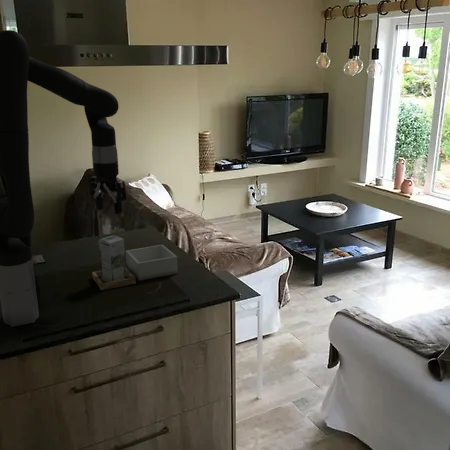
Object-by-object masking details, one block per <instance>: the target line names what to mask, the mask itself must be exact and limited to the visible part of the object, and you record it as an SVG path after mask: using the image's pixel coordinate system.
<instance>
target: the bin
mask: <svg viewBox="0 0 450 450" xmlns="http://www.w3.org/2000/svg"><path fill="white" fill-rule="evenodd" d="M125 267H126V268H127V269H128V270H129V271H130V272H131V273H132V274H133V276H134V277H135V278H136V280H137V281H144V280H149V279H154V278H160V277H161V278H162V277H165V276H170V275H176V274H177V275H178V272H179V271H178V270H179V269H178V256H177V255H176V254H175V253H173V252H172V251H171V250H170V249H168V247H167V246H165V245H164V244H158V245H157V244H156V245H152V246H151V245H150V246H147V247H141V248H133V249H132V248H131V249H126V250H125Z"/></svg>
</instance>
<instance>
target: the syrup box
mask: <svg viewBox="0 0 450 450" xmlns="http://www.w3.org/2000/svg"><path fill="white" fill-rule="evenodd" d="M98 248H99V250H98V251H99V264H100V266H99V267H100V271H101V277H100V280H101V281H102V283H105V282H110V281H116V280H121V279H127V278H126V277H127V276H126V275H125V267H126V252H125V239H124V238H122V237H120V236H118V235H109V236H106V237H103V238H100V239H98Z"/></svg>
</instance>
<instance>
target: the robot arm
mask: <svg viewBox="0 0 450 450" xmlns="http://www.w3.org/2000/svg"><path fill="white" fill-rule="evenodd" d="M29 49H30V48H29V45H28V43H27V40H26V38H25V37H24V36H23V35H22V34H21V33H19V32H17V31H16V30H11V29H8V30H7V29H6V30H0V173H1V175H2V178H3V179H4V183H5V187H6V190H7V191H6V192H7V201H6V200H0V306H1V311H2V320H3V323H4V324H5V325H9V326H10V327H11V328H13V327H18V326H23V325H24V326H25V325H29V324H32V323H35V322H36V320H37V319H39V317H40V313H39V303H38V297H37V290H36V289H37V287H36V279H35V272H34V263H33V255H32V253H33V252H32V249H31V248H30V247H29V245H27V244H26V243H24V242H23V241H22V240H21V239H25V238H27V237H28V236H30V234H31V233H32V232H33V231H32V230H33V229H34V225H35V209H34V202H33V194H32V189H31V188H32V187H31V176H30V175H31V174H30V158H29V157H30V155H29V153H30V152H29V151H30V148H29V147H30V146H29V145H30V143H29V124H28V123H29V122H28V121H29V120H28V119H29V117H28V115H29V113H28V112H29V111H28V84H29V83H28V82H30V83H33V84H35V85H36V86H37V87H41V88H43V89H44V90H47V91H49V92H51V93H53V94H54V95H56V96H58V97H60V98H62V99H63V100H66V101H68V102H69V103H71V104H74V105H77V106H81V107H83V108H84V114H85V116H86V120H87V124H88V127H89V130H90V133H91V135H90V136H91V145H92V146H91V158H92V171H93V176H89V178H88V180H89V195H90V196H93V198H94V199H95V200H94V201H95V208H96V210H97V211H99V210H103V209H104V199H103V195H104V194H108V196H109V197H110V198H111V199H112V201H113V213H114V214H115V215H120V214H122V212H123V208H122V205H123V204H122V202H124V201H126V200H127V191H126V182H125V180H121V181H118V178H117V176H119V173H120V172H119V157H118V149H117V141H116V140H117V139H116V138H117V137H116V130H115V127H114V126H112V124H110V123H109V122H108V120H107V118H110V117H114V116H115V115H116V114H117V113H118V111H119V109H120V108H119V105H120V104H119V100H118V99H117V97H116V96H114V94H112V93H111V92H110V91H108V90H105V89H103V88H100V87H99V86H96V85H93V84H90V83H89V82H86V81H85V80H83V79H82V78H80V77H78V76H77V75H74V74H73V73H71V72H69V71H67V70H64V69H63V68H60V67H57V66H55V65H51V64H49V63H46V62H43V61H41V60H39V59H37V58H34V57H32V56H30V50H29Z"/></svg>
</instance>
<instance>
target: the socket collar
mask: <svg viewBox="0 0 450 450" xmlns="http://www.w3.org/2000/svg"><path fill="white" fill-rule="evenodd" d="M91 275H92V279H93V280H94V282H95V283H96V285H97V287H98V288H99V289H100V291H105V290H111V289H116V288H120V287H125V285H126V286H130V284H131V285H135V284H136V283H137V281H136V280H137V278H136V277H135V276H134V275H133V274H132V272H131V271H130V270H129V269H128V268H127V266H125V275H126V277H127V278H126V279H121V280H116V281H110V282H103V281H102V280H101V270H97V271H92V273H91Z"/></svg>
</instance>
